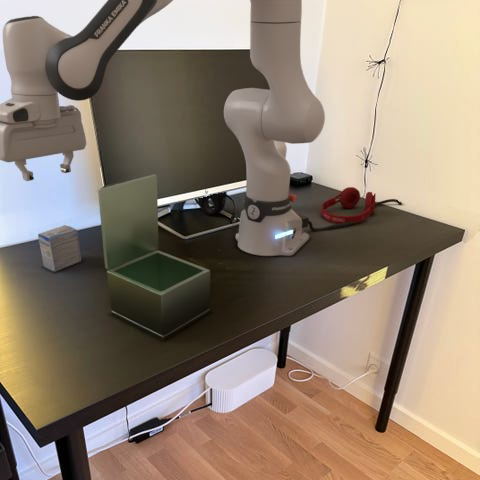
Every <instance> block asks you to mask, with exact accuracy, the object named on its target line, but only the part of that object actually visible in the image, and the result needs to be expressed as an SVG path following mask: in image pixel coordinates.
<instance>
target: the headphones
mask: <svg viewBox="0 0 480 480" xmlns="http://www.w3.org/2000/svg"><path fill="white" fill-rule="evenodd" d="M337 199H338V200H337ZM360 199H361V193H360V190H358V188H356V187H354V186H348V187H346V188H344V189H343V190H342V191H341V192H340V193H339V194H337V195H336V196H334V197H331V198H328V199H327V200H326V201H324V202H323V203H322V204H321V217H322V218H323V219H325V220H326V221H328V222H331V223H334V224H343V223H348V222H355V223H356V224H358V223H361V222H363V221H365V220H366V219H368V218H369V217H370V216H371V215H372V213H373V214H374V211H376V206H375V203H376V193H373V192H372V191H367V192H366V194H365V200H364V212H362V213H360V214H356V215H337V214H333V213H330V212H328V211H327V209H328V208H330V207H333V206H335V205H337V204H338V203H340V205H341V207H343V208H345V209H348V210H349V209H352V208H354V207H355V206H357V205H358V203H359V202H360Z"/></svg>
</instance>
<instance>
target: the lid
mask: <svg viewBox="0 0 480 480" xmlns="http://www.w3.org/2000/svg"><path fill="white" fill-rule="evenodd" d="M97 195H98V203H99V204H98V206H99V217H100V227H101V228H100V229H101V237H102V238H101V239H102V249H103V259H104V261H103V262H104V268H105V269H106V270H111V269H113V268H116V267H118V266H120V265H123V264H125V263H128V262H130V261H132V260H135V259H137V258H140V257H142V256H145V255H147V254H149V253H152V252H154V251H157V250H159V246H160V245H159V207H158V204H159V203H158V174H149V175H146V176H142V177H138V178H134V179H131V180H127V181H126V180H123V181H118V182H115V183H110V184H107V185H103V186H102V187H101V188H98V189H97Z"/></svg>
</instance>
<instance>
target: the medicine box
mask: <svg viewBox="0 0 480 480" xmlns="http://www.w3.org/2000/svg"><path fill="white" fill-rule="evenodd" d="M37 237H38V243H39V249H40V252H41V259H42V264H43V267H44V268H45V269H47V270H49V271H52V272H54V273H55V272H59V271H61V270H63V269H65V268H68V267H70V266H73V265H75V264H78V263H80V262H82V255H81V250H80V241H79V234H78V229H76V228H74V227H72V226H70V225H66V224H65V225H61V226H58V227H54V228H51V229H49V230H46V231H43V232H40V233H38V234H37Z"/></svg>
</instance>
